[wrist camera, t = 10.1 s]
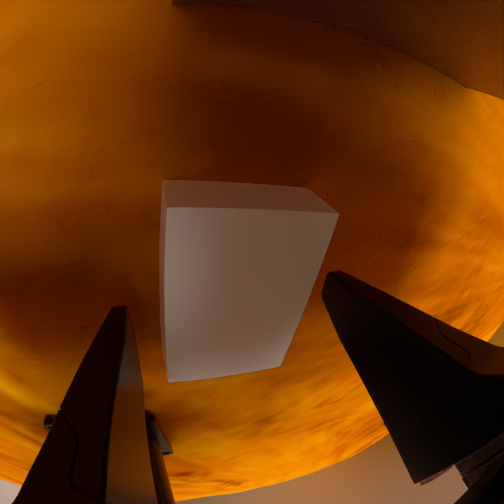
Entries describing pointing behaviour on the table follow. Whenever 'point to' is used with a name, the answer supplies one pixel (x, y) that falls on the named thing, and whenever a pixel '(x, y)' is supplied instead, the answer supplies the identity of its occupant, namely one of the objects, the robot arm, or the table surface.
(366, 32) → the grey hollow block
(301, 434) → the table surface
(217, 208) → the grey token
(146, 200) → the table surface
